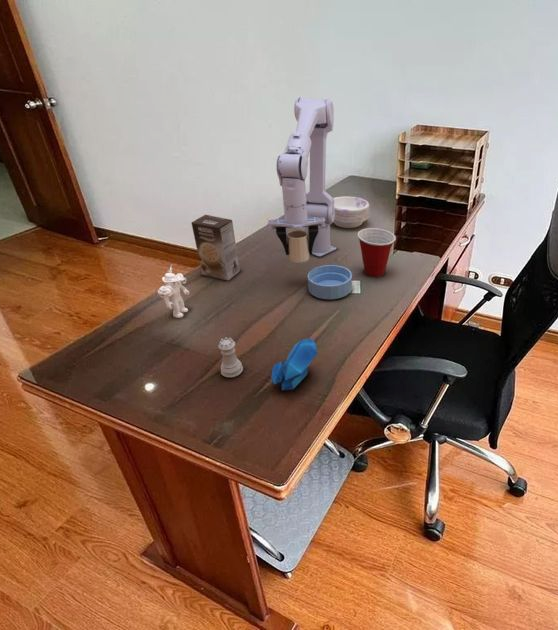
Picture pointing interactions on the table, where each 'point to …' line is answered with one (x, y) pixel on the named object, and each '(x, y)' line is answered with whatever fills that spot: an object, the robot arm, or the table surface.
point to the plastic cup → (375, 249)
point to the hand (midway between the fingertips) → (298, 252)
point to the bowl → (329, 282)
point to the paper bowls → (350, 211)
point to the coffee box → (216, 246)
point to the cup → (298, 246)
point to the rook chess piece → (229, 359)
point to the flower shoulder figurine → (174, 292)
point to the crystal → (294, 365)
